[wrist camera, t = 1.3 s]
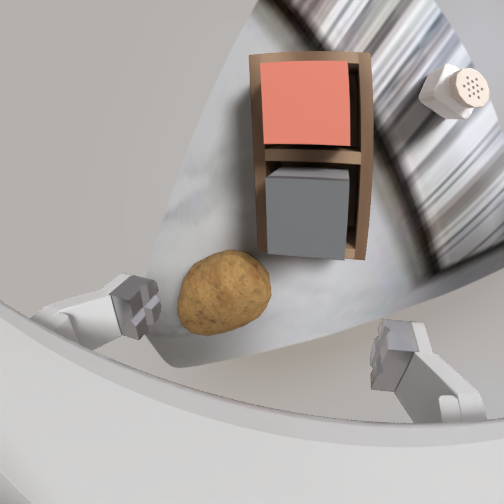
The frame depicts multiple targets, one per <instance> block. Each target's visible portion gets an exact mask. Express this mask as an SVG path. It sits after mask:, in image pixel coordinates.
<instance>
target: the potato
mask: <svg viewBox="0 0 504 504" xmlns="http://www.w3.org/2000/svg"><path fill="white" fill-rule="evenodd" d="M270 297H271V285H270V278H269V273H268V272H267V271H266V269H265V268H264V267H263V265H262V264H261V263H260V261H258V260H257V259H255V258H254V257H252V256H251V255H249V254H248V253H246V252H241V251H236V250H226V251H223V252H219V253H215V254H213V255H211V256H209V257H207V258H205V259H203V260H201V261H199V262H197V263H196V264H194V265H193V267H192V268H191V269H190V270H189V272H188V273H187V274H186V276H185V277H184V279H183V283H182V287H181V290H180V294H179V298H178V312H177V313H178V316H179V319H180V321H181V324H182V325H183V326H184V327H185V328H187V329H188V330H189V331H190V332H191V333H194V334H200V335H205V336H209V335H215V334H220V333H224V332H228V331H231V330H234V329H236V328H239V327H242V326H244V325H246V324H248V323H249V322H251V321H253V320H254V319H256V318H258V317H259V316H260V315H261V314H262V312H263V311H264V310H265V308H266V307H267V304H268V302H269V300H270Z"/></svg>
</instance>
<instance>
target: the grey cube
mask: <svg viewBox="0 0 504 504" xmlns="http://www.w3.org/2000/svg"><path fill="white" fill-rule="evenodd" d="M265 185H266V215H267V248H268V254H275V255H287V256H298V257H310V258H322V259H334V260H344V258H345V247H346V235H347V221H348V204H349V172H348V169H341V168H322V167H296V166H281V167H280V168H279V169H277V170H276V171H274V172H273V173H272V174H270V175H269V176H267V177H266V178H265Z"/></svg>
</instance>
